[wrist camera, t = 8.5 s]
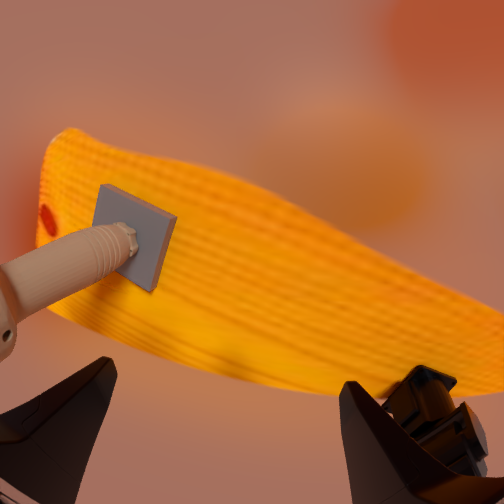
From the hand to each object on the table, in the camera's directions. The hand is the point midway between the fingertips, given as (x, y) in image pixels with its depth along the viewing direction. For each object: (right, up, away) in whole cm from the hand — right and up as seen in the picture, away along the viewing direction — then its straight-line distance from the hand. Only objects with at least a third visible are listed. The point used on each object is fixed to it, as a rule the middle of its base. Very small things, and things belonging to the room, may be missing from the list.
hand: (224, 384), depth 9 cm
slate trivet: (-10, +6, +14) cm, 18 cm away
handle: (-10, +6, +13) cm, 17 cm away
